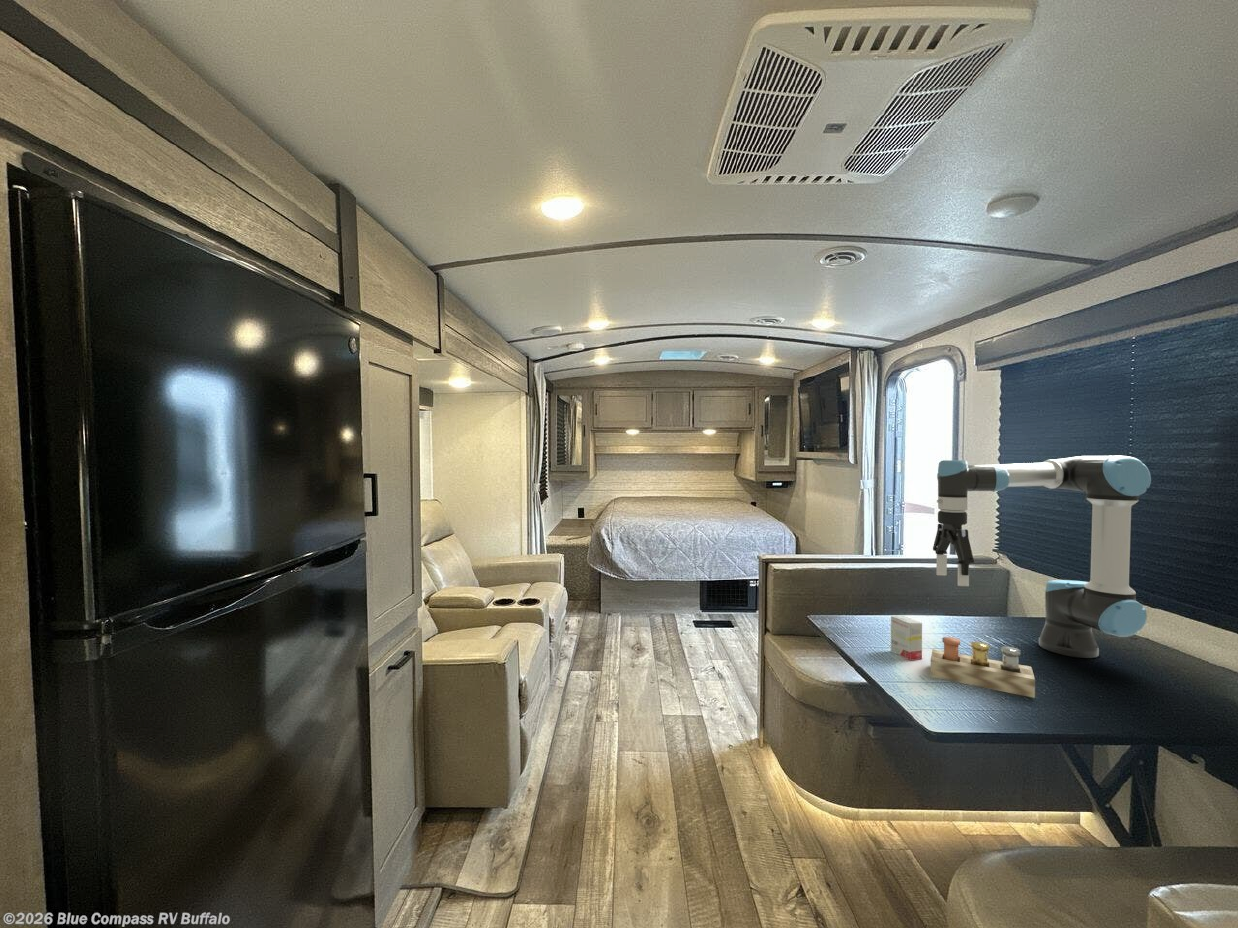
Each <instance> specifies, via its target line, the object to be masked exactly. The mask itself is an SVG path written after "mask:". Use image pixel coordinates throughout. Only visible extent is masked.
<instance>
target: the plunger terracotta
mask: <svg viewBox="0 0 1238 928" xmlns="http://www.w3.org/2000/svg"><path fill="white" fill-rule="evenodd" d="M941 642H942V643H943V651H944V659H946V660H951V661H957V662H958V654H959V646H961V640H960V639H959V638H957V637H951V636H944V637H942V641H941Z"/></svg>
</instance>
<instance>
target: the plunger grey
mask: <svg viewBox="0 0 1238 928" xmlns="http://www.w3.org/2000/svg"><path fill="white" fill-rule="evenodd" d="M1000 652H1001V653H1002V662H1003V667H1002V670H1005V671H1011V672H1016V673H1019V665H1020V664H1019V659H1020V658H1019V656H1021V649H1018V648H1015V647H1013V646H1006V645H1005V646H1000Z"/></svg>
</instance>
